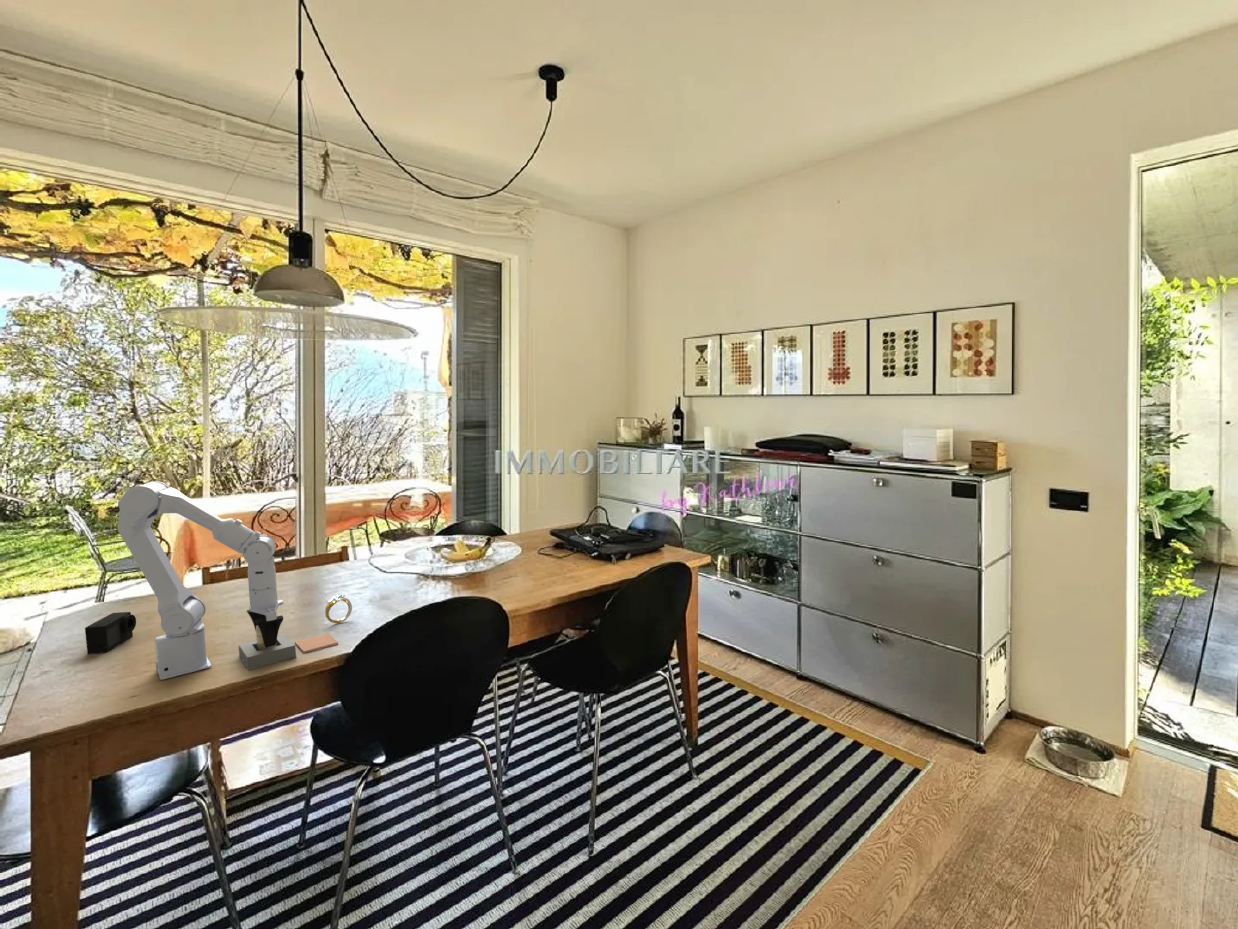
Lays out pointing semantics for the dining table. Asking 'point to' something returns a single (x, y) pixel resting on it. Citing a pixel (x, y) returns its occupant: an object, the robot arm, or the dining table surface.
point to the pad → (316, 643)
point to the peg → (261, 640)
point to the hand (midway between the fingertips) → (266, 641)
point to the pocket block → (267, 652)
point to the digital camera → (109, 632)
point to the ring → (335, 599)
